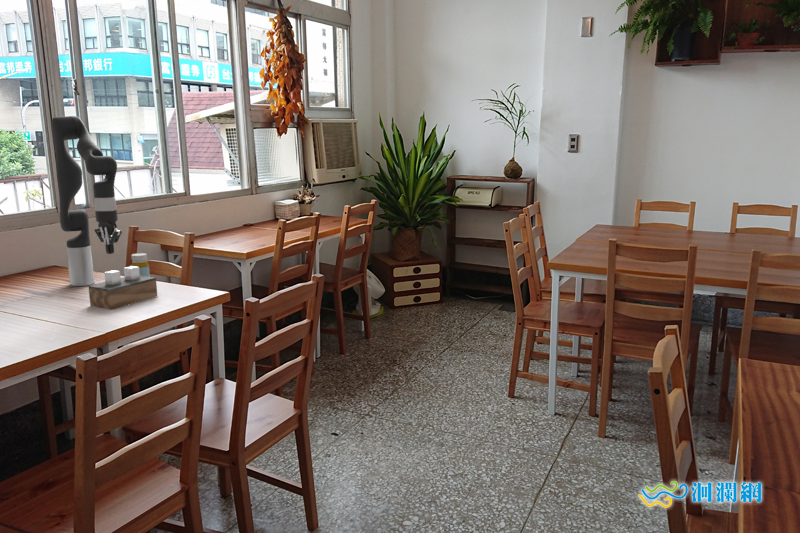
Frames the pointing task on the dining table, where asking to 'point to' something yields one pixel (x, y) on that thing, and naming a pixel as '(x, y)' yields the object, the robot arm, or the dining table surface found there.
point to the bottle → (141, 263)
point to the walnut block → (122, 292)
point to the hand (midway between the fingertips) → (110, 253)
